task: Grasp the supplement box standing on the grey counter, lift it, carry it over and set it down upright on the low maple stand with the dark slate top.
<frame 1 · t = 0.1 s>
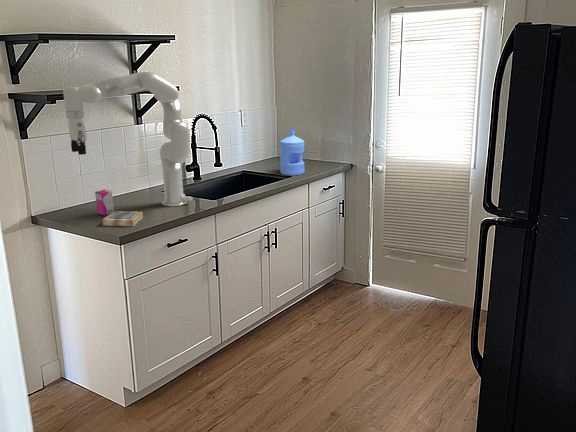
hand: (79, 152, 253), 31 cm above the countertop, tool pointing down, fingers open, 9 cm apart
water jug: (292, 173, 359), on the countertop
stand: (123, 221, 257), on the countertop
supplement box: (106, 214, 269), on the countertop
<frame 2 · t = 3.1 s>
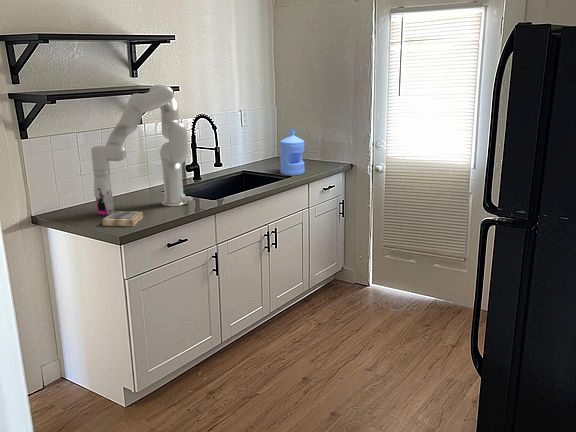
hand: (105, 208, 268), 3 cm above the countertop, tool pointing down, fingers closed on supplement box, 7 cm apart
supplement box: (105, 214, 269), on the countertop, touching gripper
everything else where it was.
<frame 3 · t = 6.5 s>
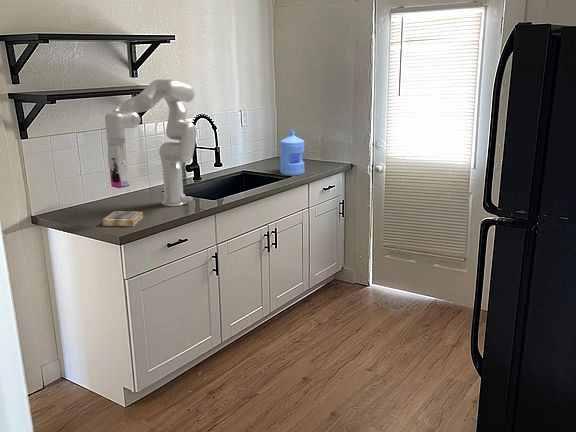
hand: (119, 179, 251), 20 cm above the countertop, tool pointing down, fingers closed on supplement box, 7 cm apart
supplement box: (120, 186, 252), point 16 cm above the countertop, touching gripper
everything else where it was.
when the fingers open (7 cm above the countertop, at t = 9.7 s): supplement box stays where it is, resting on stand.
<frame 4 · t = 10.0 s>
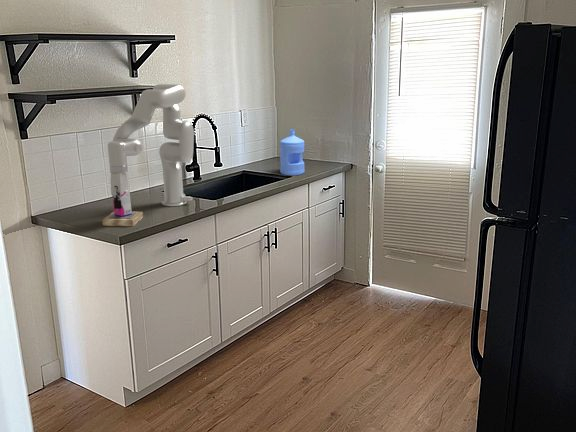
hand: (122, 205, 255), 7 cm above the countertop, tool pointing down, fingers open, 9 cm apart
supplement box: (123, 215, 256), point 3 cm above the countertop, touching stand
everything else where it was.
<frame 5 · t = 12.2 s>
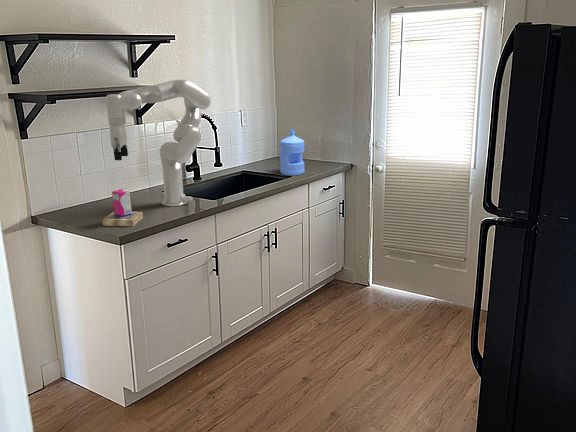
hand: (121, 158, 263), 27 cm above the countertop, tool pointing down, fingers open, 9 cm apart
nothing on the countertop moved.
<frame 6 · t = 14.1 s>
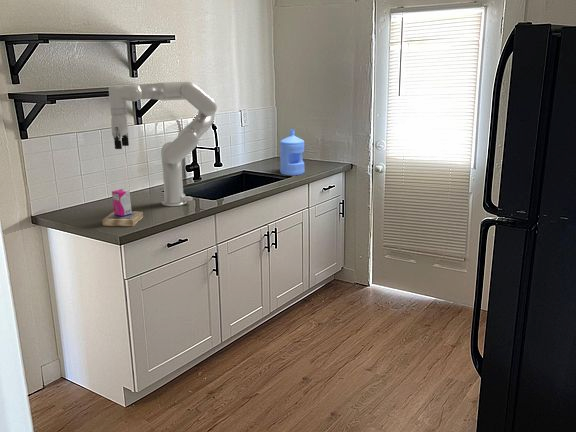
hand: (122, 147, 273), 30 cm above the countertop, tool pointing down, fingers open, 9 cm apart
nothing on the countertop moved.
at the end: supplement box inside the target area on the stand (0.2 cm from its centre), point 2.9 cm above the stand's base; supplement box tilted 0°; the gripper is holding nothing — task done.
